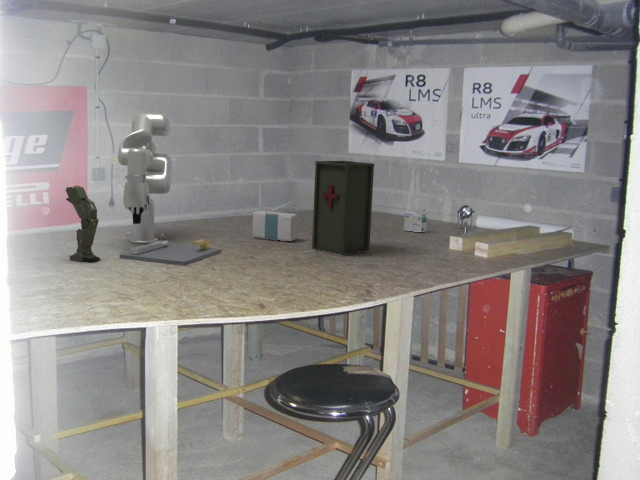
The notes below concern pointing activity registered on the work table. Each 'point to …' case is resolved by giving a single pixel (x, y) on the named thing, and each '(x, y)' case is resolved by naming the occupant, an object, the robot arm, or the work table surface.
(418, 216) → the light bulb box
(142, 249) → the link
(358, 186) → the first aid box
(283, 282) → the work table surface
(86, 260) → the mechanical leg
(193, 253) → the base plate
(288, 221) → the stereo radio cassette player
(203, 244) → the strip
